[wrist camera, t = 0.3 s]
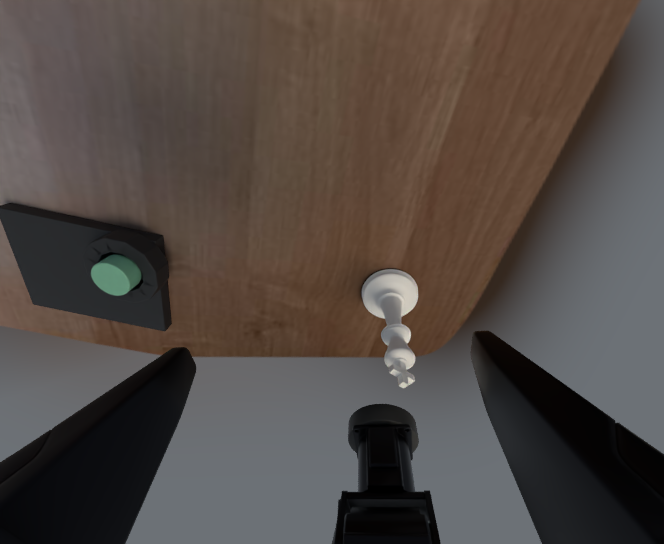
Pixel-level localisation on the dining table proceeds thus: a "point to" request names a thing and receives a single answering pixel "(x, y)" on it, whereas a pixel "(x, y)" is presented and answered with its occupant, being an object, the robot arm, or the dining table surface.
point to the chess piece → (393, 317)
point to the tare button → (116, 274)
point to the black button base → (87, 265)
